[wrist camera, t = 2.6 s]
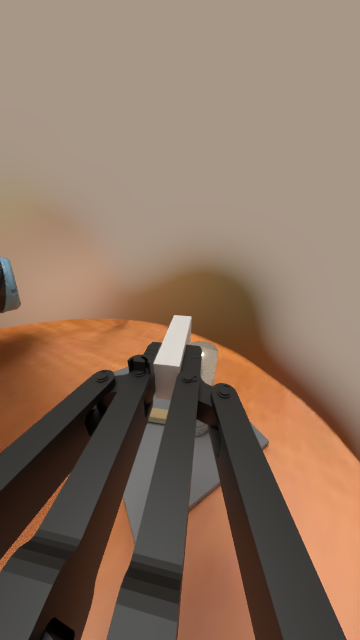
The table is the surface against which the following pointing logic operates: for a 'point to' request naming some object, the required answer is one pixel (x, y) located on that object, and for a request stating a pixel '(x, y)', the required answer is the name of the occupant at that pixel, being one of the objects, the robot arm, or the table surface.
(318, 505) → the table surface
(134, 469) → the dial board
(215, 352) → the tuning peg
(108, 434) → the robot arm
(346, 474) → the table surface
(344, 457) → the table surface
